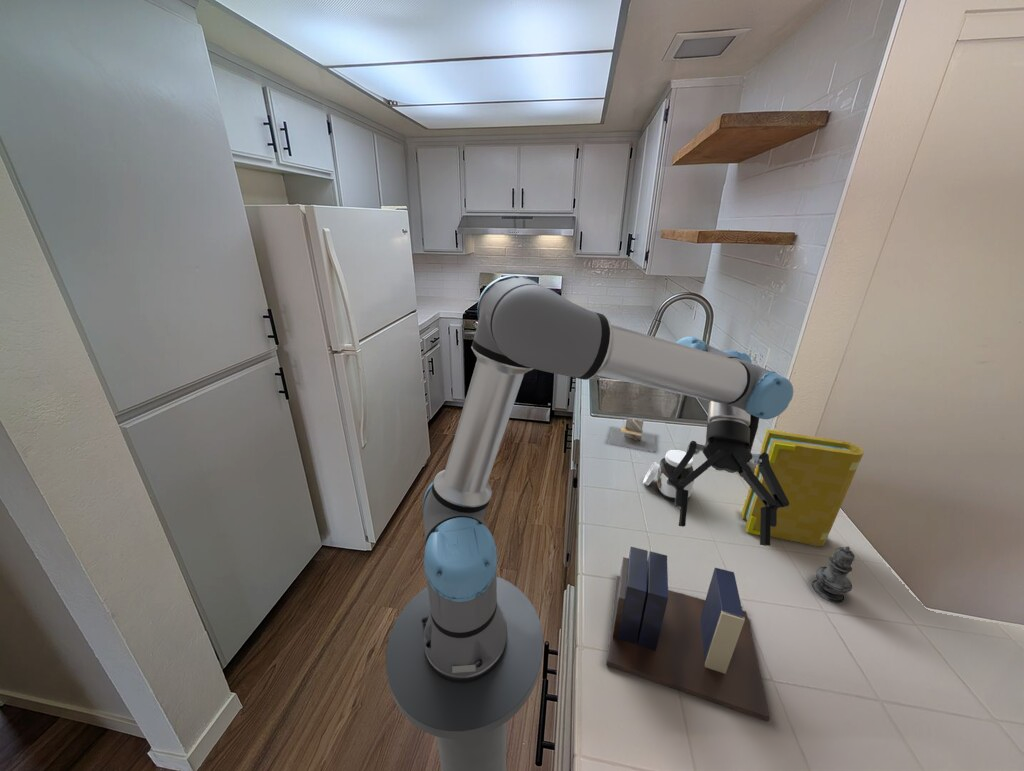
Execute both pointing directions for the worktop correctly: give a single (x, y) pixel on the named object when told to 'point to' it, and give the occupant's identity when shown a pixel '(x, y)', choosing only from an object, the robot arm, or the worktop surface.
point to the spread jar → (669, 473)
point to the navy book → (721, 620)
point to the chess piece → (835, 576)
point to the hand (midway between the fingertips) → (722, 535)
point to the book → (804, 485)
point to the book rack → (676, 639)
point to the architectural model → (633, 436)
